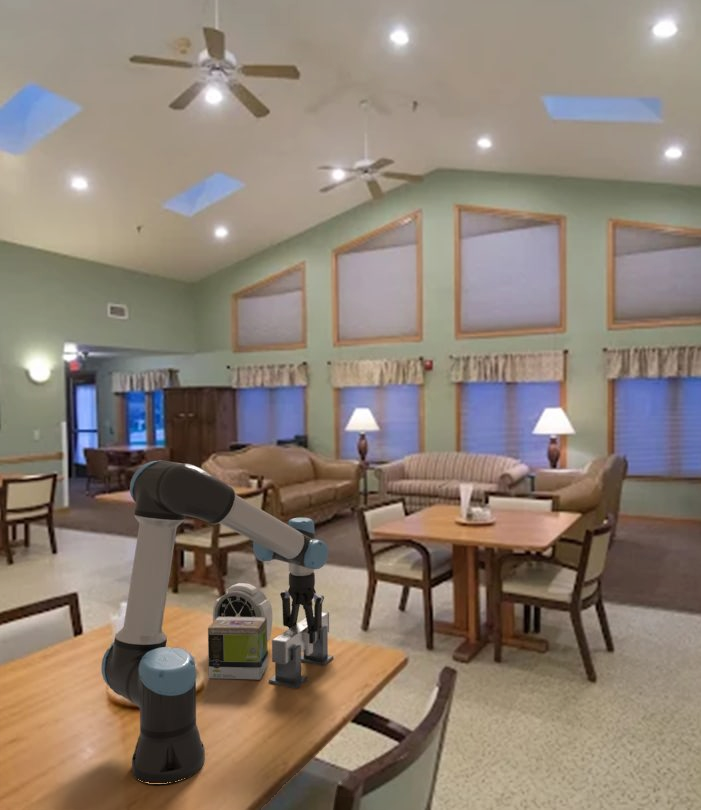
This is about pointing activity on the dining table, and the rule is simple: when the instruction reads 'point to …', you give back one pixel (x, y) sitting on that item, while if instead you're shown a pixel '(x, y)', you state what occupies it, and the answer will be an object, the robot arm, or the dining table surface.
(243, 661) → the tea box
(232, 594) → the alarm clock
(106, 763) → the dining table surface
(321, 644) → the post
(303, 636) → the rail
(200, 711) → the dining table surface
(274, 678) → the post
